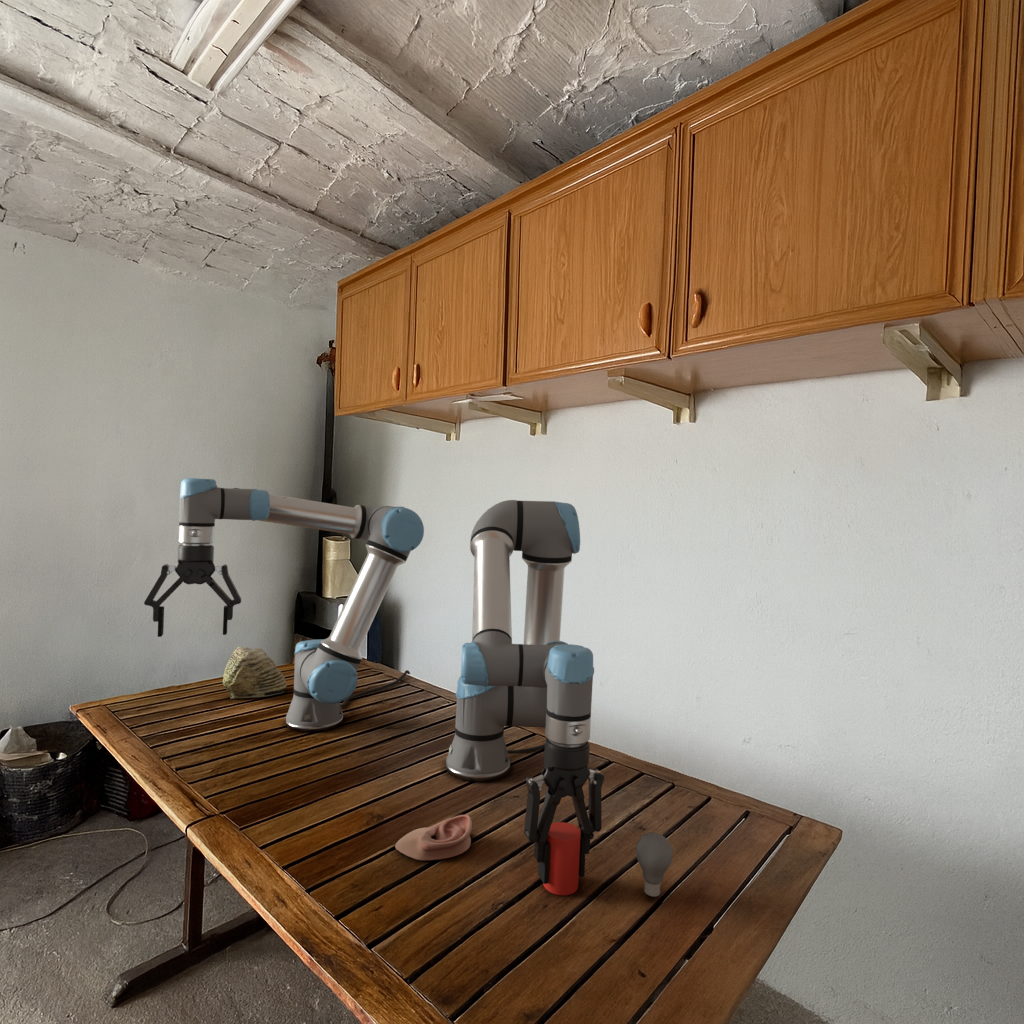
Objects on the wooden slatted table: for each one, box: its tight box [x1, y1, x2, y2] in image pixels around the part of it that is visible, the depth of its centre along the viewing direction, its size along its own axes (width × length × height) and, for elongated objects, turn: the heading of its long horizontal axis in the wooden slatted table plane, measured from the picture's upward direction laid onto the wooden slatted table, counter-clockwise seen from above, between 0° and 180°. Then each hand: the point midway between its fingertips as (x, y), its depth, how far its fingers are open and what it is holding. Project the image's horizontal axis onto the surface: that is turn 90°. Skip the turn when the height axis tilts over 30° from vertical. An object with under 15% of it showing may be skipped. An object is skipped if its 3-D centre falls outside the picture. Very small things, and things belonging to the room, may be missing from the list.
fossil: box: [222, 646, 288, 699], centre depth 198 cm, size 9×18×15 cm, turn 132°
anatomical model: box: [394, 814, 473, 861], centre depth 117 cm, size 13×4×12 cm
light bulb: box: [635, 831, 674, 897], centre depth 105 cm, size 6×6×10 cm
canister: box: [542, 821, 581, 896], centre depth 107 cm, size 6×6×9 cm
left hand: (193, 634), depth 148 cm, fingers open, 13 cm apart
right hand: (561, 875), depth 107 cm, fingers closed on canister, 6 cm apart
